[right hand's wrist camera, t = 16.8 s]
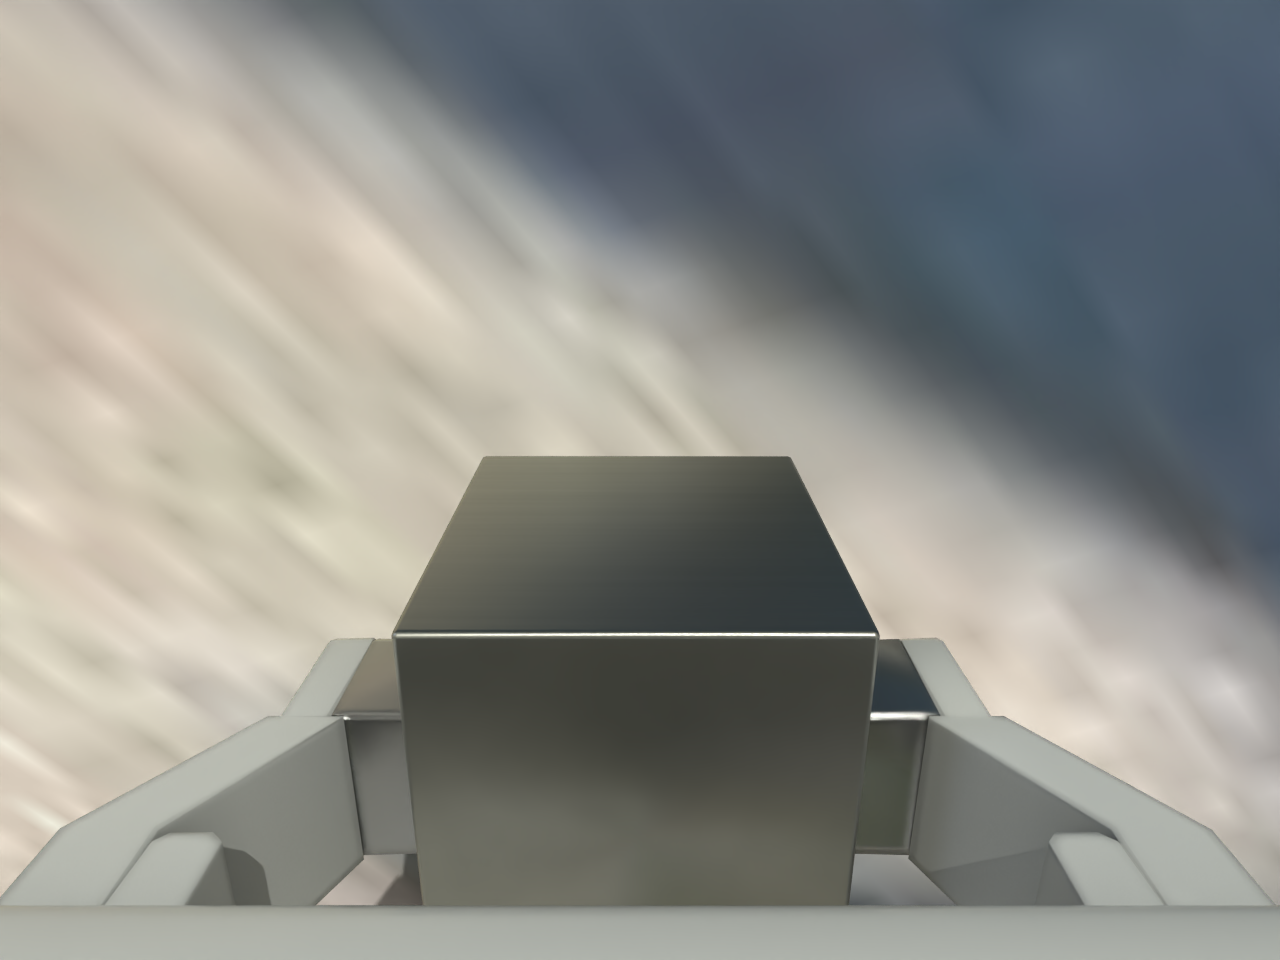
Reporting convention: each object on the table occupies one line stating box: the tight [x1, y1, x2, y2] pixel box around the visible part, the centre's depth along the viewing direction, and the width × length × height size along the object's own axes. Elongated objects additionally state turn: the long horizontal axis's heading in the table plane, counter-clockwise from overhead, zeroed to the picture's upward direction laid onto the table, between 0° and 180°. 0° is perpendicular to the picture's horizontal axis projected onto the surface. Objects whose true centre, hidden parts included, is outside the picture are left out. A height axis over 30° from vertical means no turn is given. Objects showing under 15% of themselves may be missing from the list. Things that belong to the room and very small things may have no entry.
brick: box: [392, 456, 880, 905], centre depth 10 cm, size 4×4×5 cm
